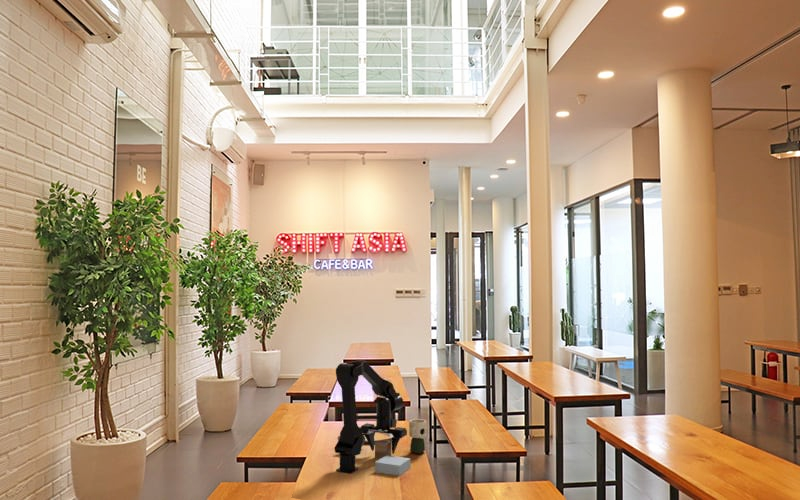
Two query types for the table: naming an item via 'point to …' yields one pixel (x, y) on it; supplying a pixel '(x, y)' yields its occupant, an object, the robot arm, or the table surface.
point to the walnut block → (382, 448)
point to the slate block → (392, 465)
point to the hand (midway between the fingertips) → (383, 452)
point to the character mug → (417, 435)
